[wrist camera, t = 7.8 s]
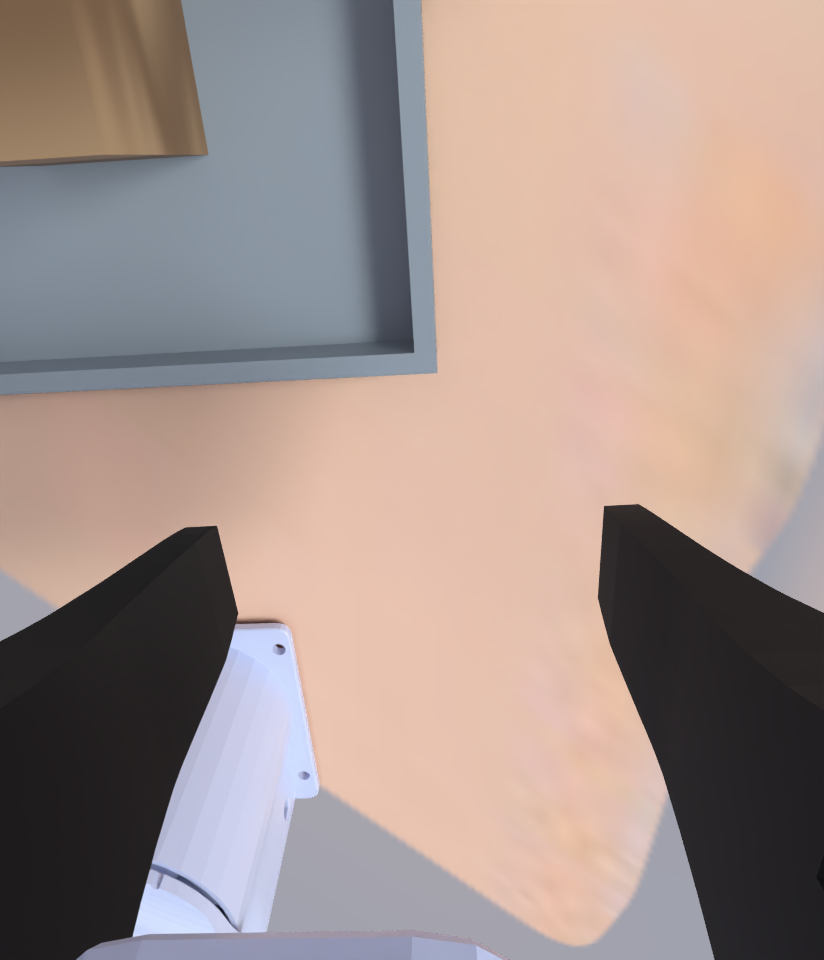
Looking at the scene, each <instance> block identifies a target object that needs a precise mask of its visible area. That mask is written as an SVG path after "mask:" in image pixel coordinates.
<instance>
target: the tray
mask: <svg viewBox="0 0 824 960" xmlns="http://www.w3.org/2000/svg"><path fill="white" fill-rule="evenodd" d="M181 4H182V9H183V15H184V20H185V26H186V31H187V37H188V43H189V48H190V54H191V59H192V65H193V71H194V76H195V82H196V87H197V93H198V99H199V104H200V110H201V115H202V121H203V127H204V132H205V138H206V143H207V149H208V154H209V155H199V156H184V157H169V158H154V159H139V160H124V161H109V162H94V163H78V164H63V165H48V166H18V167H0V395H9V394H29V393H49V392H69V391H89V390H109V389H129V388H149V387H169V386H188V385H208V384H228V383H248V382H268V381H288V380H308V379H328V378H348V377H368V376H388V375H407V374H427V373H437V348H436V326H435V303H434V280H433V258H432V235H431V213H430V190H429V168H428V145H427V123H426V100H425V78H424V55H423V32H422V10H421V0H181Z"/></svg>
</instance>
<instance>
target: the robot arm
mask: <svg viewBox="0 0 824 960" xmlns="http://www.w3.org/2000/svg"><path fill="white" fill-rule="evenodd" d="M598 600H599V604H600V608H601V612H602V616H603V620H604V624H605V627H606V631H607V635H608V638H609V642H610V645H611V648H612V650H613V653H614V655H615V658H616V660H617V663H618V665H619V668H620V670H621V672H622V675H623V677H624V680H625V682H626V685H627V687H628V689H629V692H630V694H631V696H632V699H633V701H634V704H635V706H636V708H637V711H638V713H639V716H640V718H641V720H642V723H643V725H644V727H645V730H646V732H647V735H648V737H649V739H650V742H651V744H652V747H653V749H654V751H655V754H656V757H657V760H658V762H659V765H660V768H661V771H662V773H663V776H664V780H665V783H666V786H667V790H668V793H669V796H670V800H671V803H672V806H673V809H674V813H675V816H676V819H677V823H678V826H679V829H680V833H681V836H682V840H683V844H684V847H685V851H686V854H687V858H688V861H689V865H690V868H691V872H692V876H693V879H694V883H695V887H696V890H697V894H698V898H699V901H700V905H701V909H702V913H703V917H704V920H705V924H706V928H707V932H708V936H709V940H710V944H711V947H712V951H713V955H714V959H715V960H824V613H823V612H821V611H818V610H816V609H814V608H812V607H810V606H808V605H806V604H804V603H802V602H799V601H797V600H795V599H793V598H791V597H789V596H787V595H785V594H783V593H781V592H779V591H777V590H775V589H774V588H771V587H770V586H768V585H766V584H764V583H763V582H761V581H759V580H757V579H756V578H754V577H752V576H750V575H749V574H747V573H745V572H743V571H742V570H740V569H738V568H736V567H735V566H733V565H731V564H730V563H728V562H727V561H725V560H723V559H722V558H720V557H718V556H717V555H715V554H714V553H712V552H711V551H709V550H707V549H706V548H704V547H703V546H701V545H700V544H698V543H697V542H695V541H694V540H692V539H691V538H689V537H688V536H686V535H685V534H683V533H682V532H680V531H679V530H677V529H676V528H674V527H673V526H671V525H670V524H668V523H667V522H666V521H664V520H663V519H661V518H660V517H658V516H657V515H655V514H654V513H652V512H650V511H649V510H647V509H646V508H644V507H642V506H640V505H639V504H635V505H616V506H604V516H603V530H602V545H601V560H600V575H599V590H598ZM237 616H238V611H237V606H236V602H235V598H234V594H233V590H232V586H231V582H230V578H229V574H228V570H227V566H226V561H225V557H224V553H223V549H222V545H221V541H220V537H219V533H218V529H217V526H206V527H187V528H184V529H182V530H180V531H178V532H176V533H174V534H173V535H171V536H170V537H168V538H166V539H165V540H163V541H162V542H160V543H159V544H157V545H156V546H154V547H153V548H151V549H150V550H148V551H147V552H145V553H144V554H142V555H141V556H139V557H138V558H136V559H135V560H134V561H132V562H131V563H129V564H128V565H126V566H125V567H123V568H122V569H120V570H119V571H117V572H116V573H114V574H113V575H111V576H110V577H108V578H107V579H105V580H104V581H102V582H101V583H99V584H98V585H96V586H95V587H93V588H91V589H90V590H88V591H87V592H85V593H83V594H82V595H80V596H79V597H77V598H75V599H74V600H72V601H71V602H69V603H67V604H66V605H64V606H63V607H61V608H59V609H58V610H56V611H55V612H53V613H51V614H50V615H48V616H47V617H45V618H43V619H41V620H39V621H38V622H36V623H34V624H32V625H31V626H29V627H27V628H25V629H23V630H21V631H19V632H18V633H16V634H14V635H12V636H10V637H8V638H6V639H4V640H2V641H1V642H0V960H509V959H507V958H505V957H504V956H501V955H500V954H498V953H496V952H494V951H493V950H491V949H489V948H487V947H485V946H483V945H481V944H480V943H478V942H476V941H474V940H472V939H470V938H465V937H458V936H451V935H443V934H437V933H429V932H422V931H415V930H396V931H331V932H330V931H327V932H326V931H325V932H266V931H267V927H268V923H269V919H270V914H271V909H272V904H273V900H274V895H275V891H276V886H277V881H278V877H279V872H280V867H281V862H282V858H283V853H284V848H285V844H286V839H287V834H288V830H289V825H290V820H291V816H292V811H293V806H294V801H295V798H312V797H314V796H316V795H317V794H318V790H319V779H318V773H317V768H316V762H315V757H314V752H313V746H312V741H311V735H310V730H309V725H308V719H307V714H306V708H305V703H304V697H303V692H302V687H301V681H300V676H299V670H298V665H297V660H296V654H295V649H294V643H293V638H292V633H291V630H290V629H289V628H288V627H287V626H286V625H284V624H281V623H257V624H236V620H237ZM276 644H280V645H282V646H284V648H279V647H277V646H276ZM303 771H304V772H303Z"/></svg>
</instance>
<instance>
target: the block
mask: <svg viewBox="0 0 824 960" xmlns="http://www.w3.org/2000/svg"><path fill="white" fill-rule="evenodd" d="M199 155H209V154H208V149H207V143H206V138H205V132H204V127H203V121H202V115H201V110H200V104H199V99H198V93H197V87H196V82H195V76H194V71H193V65H192V59H191V54H190V48H189V43H188V37H187V31H186V26H185V20H184V15H183V9H182V4H181V0H0V167H18V166H48V165H63V164H78V163H94V162H109V161H124V160H139V159H154V158H169V157H184V156H199Z"/></svg>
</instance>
